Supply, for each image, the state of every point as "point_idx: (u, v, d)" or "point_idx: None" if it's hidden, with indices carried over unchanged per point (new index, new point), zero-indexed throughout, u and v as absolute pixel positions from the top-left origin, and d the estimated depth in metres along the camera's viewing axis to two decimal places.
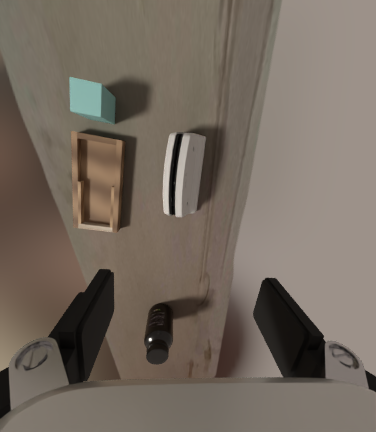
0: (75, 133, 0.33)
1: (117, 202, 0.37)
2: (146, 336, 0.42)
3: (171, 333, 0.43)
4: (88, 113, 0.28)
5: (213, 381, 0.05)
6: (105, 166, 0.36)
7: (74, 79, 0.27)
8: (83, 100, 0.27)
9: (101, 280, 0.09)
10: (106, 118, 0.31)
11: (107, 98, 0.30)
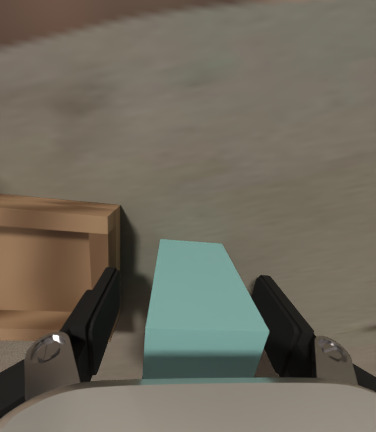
0: (102, 229, 0.10)
1: None
2: None
3: None
4: None
5: (213, 381, 0.05)
6: (31, 282, 0.12)
7: (260, 344, 0.07)
8: (192, 367, 0.07)
9: (108, 278, 0.09)
10: None
11: None
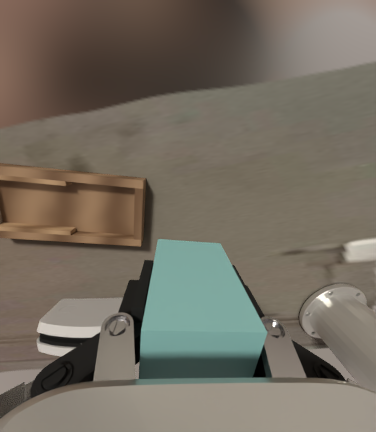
0: (140, 186, 0.22)
1: (45, 238, 0.23)
2: None
3: None
4: None
5: (213, 381, 0.05)
6: (102, 216, 0.24)
7: (258, 346, 0.07)
8: (189, 369, 0.07)
9: (150, 269, 0.10)
10: None
11: None
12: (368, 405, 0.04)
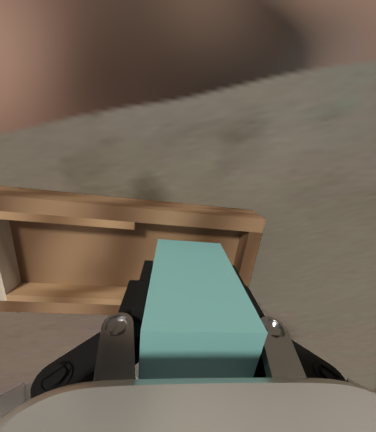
0: (260, 229, 0.13)
1: (91, 311, 0.14)
2: None
3: None
4: None
5: (213, 381, 0.05)
6: None
7: (258, 346, 0.07)
8: (188, 370, 0.07)
9: (150, 269, 0.10)
10: None
11: None
12: (368, 405, 0.04)
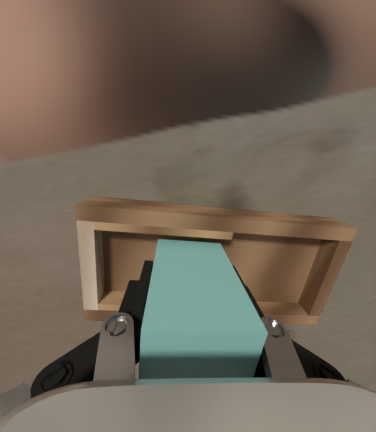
0: (350, 238, 0.13)
1: None
2: None
3: None
4: None
5: (213, 381, 0.05)
6: (258, 278, 0.15)
7: (258, 346, 0.07)
8: (189, 370, 0.07)
9: (150, 269, 0.10)
10: None
11: None
12: (368, 405, 0.04)
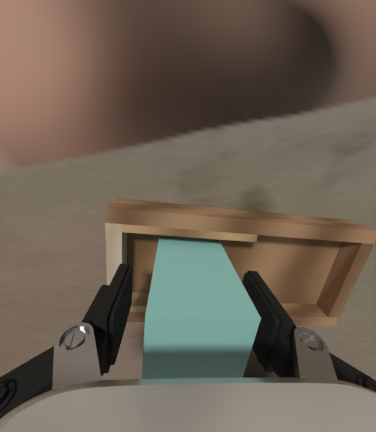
0: (372, 240, 0.13)
1: None
2: None
3: None
4: (146, 365, 0.07)
5: (213, 381, 0.05)
6: (277, 280, 0.15)
7: (252, 331, 0.07)
8: (189, 353, 0.07)
9: (123, 273, 0.10)
10: None
11: None
12: (368, 405, 0.04)
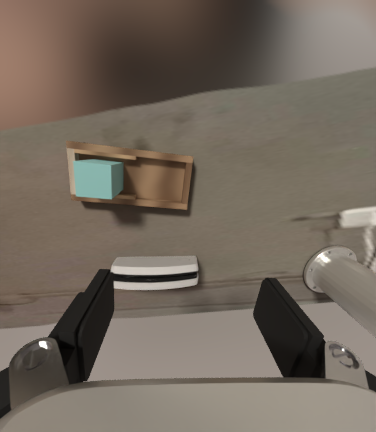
0: (191, 161, 0.29)
1: (115, 202, 0.30)
2: None
3: None
4: (76, 182, 0.23)
5: (213, 381, 0.05)
6: (157, 186, 0.31)
7: (109, 170, 0.23)
8: (89, 178, 0.23)
9: (101, 280, 0.09)
10: None
11: None
12: (368, 405, 0.04)
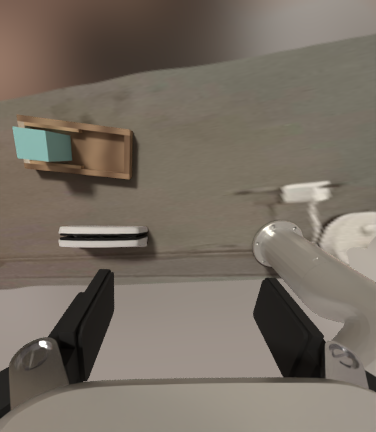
0: (128, 134, 0.33)
1: (64, 171, 0.34)
2: None
3: None
4: (16, 145, 0.27)
5: (213, 381, 0.05)
6: (102, 158, 0.35)
7: (44, 135, 0.27)
8: (28, 142, 0.27)
9: (101, 280, 0.09)
10: None
11: None
12: (368, 405, 0.04)
